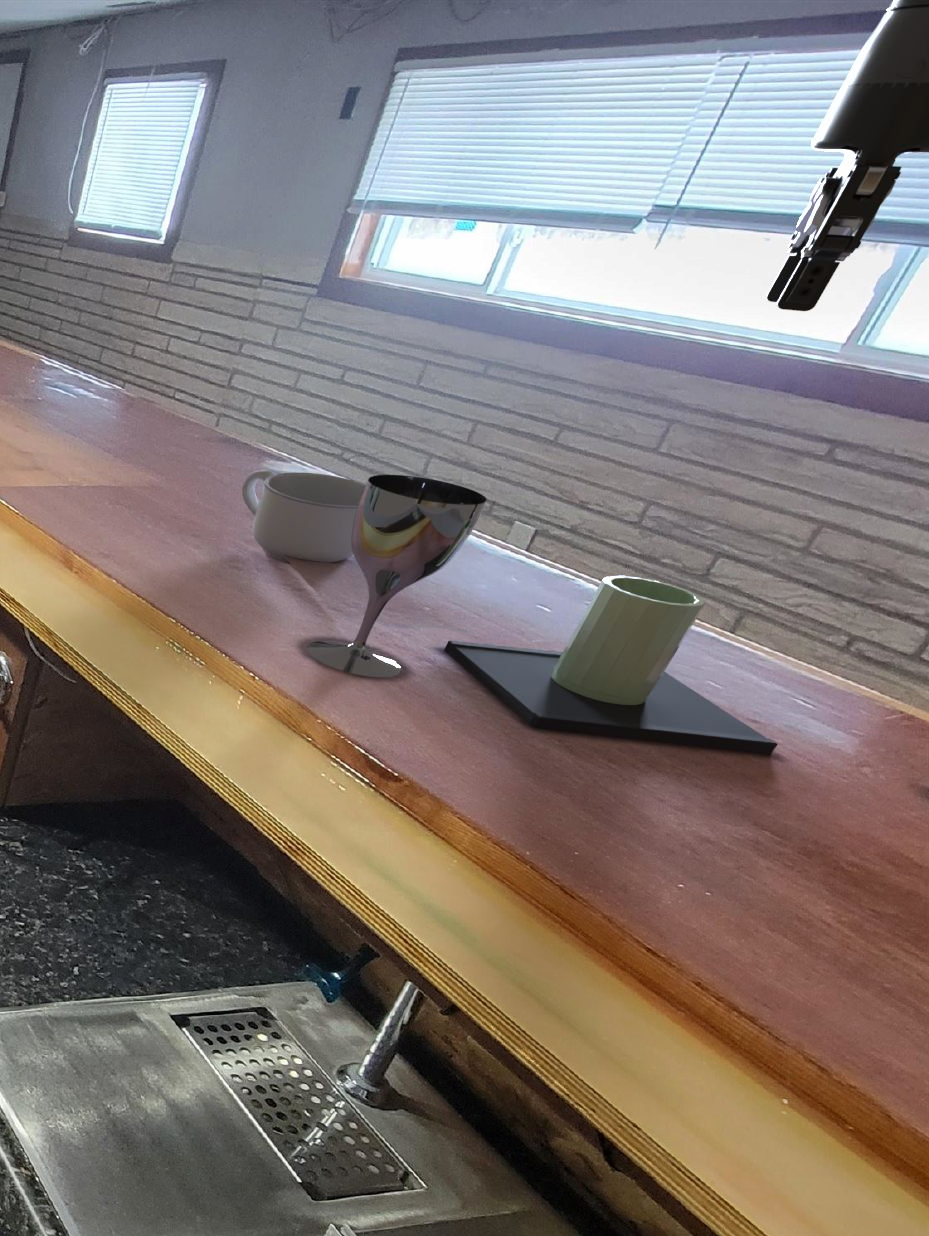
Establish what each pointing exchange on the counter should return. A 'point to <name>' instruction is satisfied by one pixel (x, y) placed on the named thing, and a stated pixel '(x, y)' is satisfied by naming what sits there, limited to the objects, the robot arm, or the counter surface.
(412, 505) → the wine glass
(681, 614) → the cup
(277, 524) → the teacup
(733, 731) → the bar mat
